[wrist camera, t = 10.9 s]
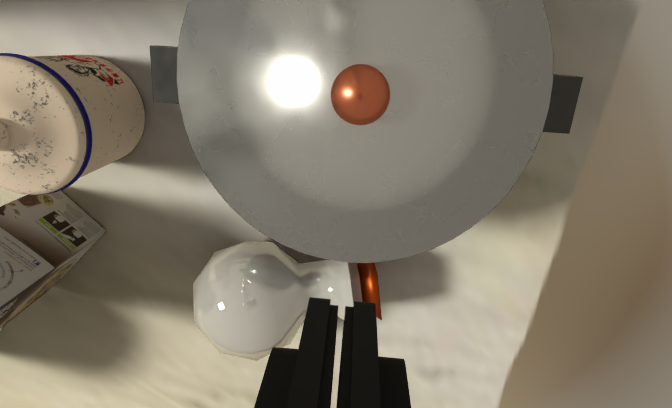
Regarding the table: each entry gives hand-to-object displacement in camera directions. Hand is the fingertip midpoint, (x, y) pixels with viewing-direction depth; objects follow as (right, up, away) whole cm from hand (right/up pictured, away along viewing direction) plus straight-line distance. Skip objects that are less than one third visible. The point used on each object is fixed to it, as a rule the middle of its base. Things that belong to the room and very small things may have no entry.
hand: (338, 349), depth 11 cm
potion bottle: (-4, -2, +30) cm, 30 cm away
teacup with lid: (-21, +12, +26) cm, 35 cm away
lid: (+1, +10, +14) cm, 17 cm away
